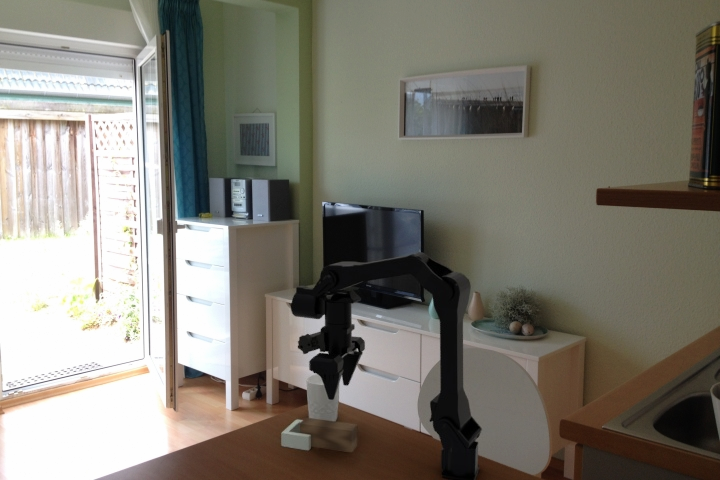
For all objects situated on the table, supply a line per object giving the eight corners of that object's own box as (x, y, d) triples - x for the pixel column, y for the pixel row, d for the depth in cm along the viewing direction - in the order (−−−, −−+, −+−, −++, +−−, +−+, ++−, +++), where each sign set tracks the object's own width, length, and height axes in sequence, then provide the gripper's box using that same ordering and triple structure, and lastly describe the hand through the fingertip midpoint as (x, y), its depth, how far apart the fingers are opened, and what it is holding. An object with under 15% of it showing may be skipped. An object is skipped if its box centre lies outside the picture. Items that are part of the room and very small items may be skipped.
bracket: (322, 435, 146) (322, 423, 145) (308, 450, 138) (308, 437, 138) (296, 431, 148) (296, 419, 147) (281, 446, 140) (281, 432, 140)
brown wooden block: (357, 446, 141) (357, 424, 140) (351, 453, 137) (351, 430, 137) (306, 438, 145) (306, 417, 144) (299, 445, 141) (299, 423, 141)
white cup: (335, 427, 151) (335, 385, 149) (302, 424, 152) (302, 383, 151) (342, 414, 158) (342, 374, 157) (311, 411, 160) (311, 372, 159)
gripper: (319, 309, 149) (320, 375, 151) (285, 329, 132) (286, 403, 134) (365, 312, 146) (365, 380, 148) (336, 333, 128) (337, 409, 130)
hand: (338, 392), depth 140 cm, fingers open, 9 cm apart
